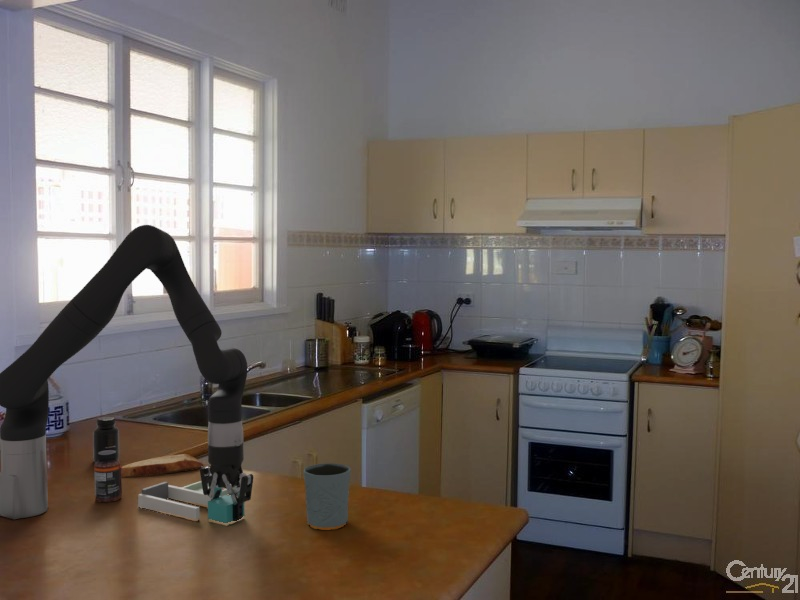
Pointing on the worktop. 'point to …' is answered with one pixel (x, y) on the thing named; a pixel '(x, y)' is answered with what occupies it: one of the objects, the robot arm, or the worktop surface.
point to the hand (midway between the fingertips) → (227, 517)
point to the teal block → (221, 509)
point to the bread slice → (161, 465)
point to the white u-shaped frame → (157, 501)
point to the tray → (198, 487)
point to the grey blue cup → (327, 494)
